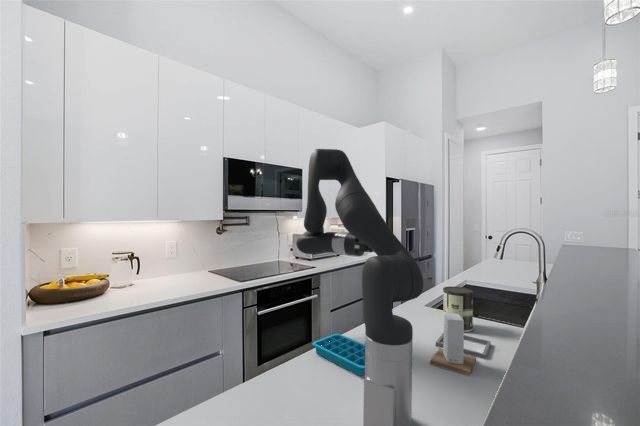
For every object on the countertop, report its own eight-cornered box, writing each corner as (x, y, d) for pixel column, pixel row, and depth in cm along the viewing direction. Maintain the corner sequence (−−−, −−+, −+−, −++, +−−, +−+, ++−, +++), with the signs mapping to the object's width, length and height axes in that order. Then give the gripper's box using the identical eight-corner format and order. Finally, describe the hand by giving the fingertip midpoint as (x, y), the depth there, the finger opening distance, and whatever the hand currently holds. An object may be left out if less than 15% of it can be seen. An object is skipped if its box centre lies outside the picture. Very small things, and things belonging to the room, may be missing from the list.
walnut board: (469, 376, 76) (469, 372, 76) (430, 364, 82) (430, 360, 82) (476, 361, 84) (476, 357, 84) (439, 351, 90) (439, 347, 90)
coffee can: (467, 323, 115) (467, 286, 115) (477, 333, 104) (477, 293, 105) (439, 321, 116) (440, 285, 116) (446, 331, 106) (447, 292, 106)
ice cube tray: (336, 342, 97) (337, 332, 97) (389, 365, 82) (389, 354, 82) (310, 353, 89) (310, 343, 89) (363, 381, 74) (363, 369, 74)
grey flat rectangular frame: (485, 359, 86) (485, 355, 86) (435, 345, 94) (435, 342, 94) (490, 344, 95) (490, 341, 95) (445, 334, 103) (445, 330, 104)
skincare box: (464, 364, 80) (464, 320, 80) (447, 363, 81) (447, 319, 81) (458, 354, 86) (458, 313, 86) (442, 353, 87) (443, 312, 87)
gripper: (337, 233, 92) (385, 235, 82) (359, 231, 103) (404, 233, 93) (336, 257, 92) (385, 262, 82) (359, 252, 103) (404, 257, 93)
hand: (395, 247), depth 88 cm, fingers open, 8 cm apart
